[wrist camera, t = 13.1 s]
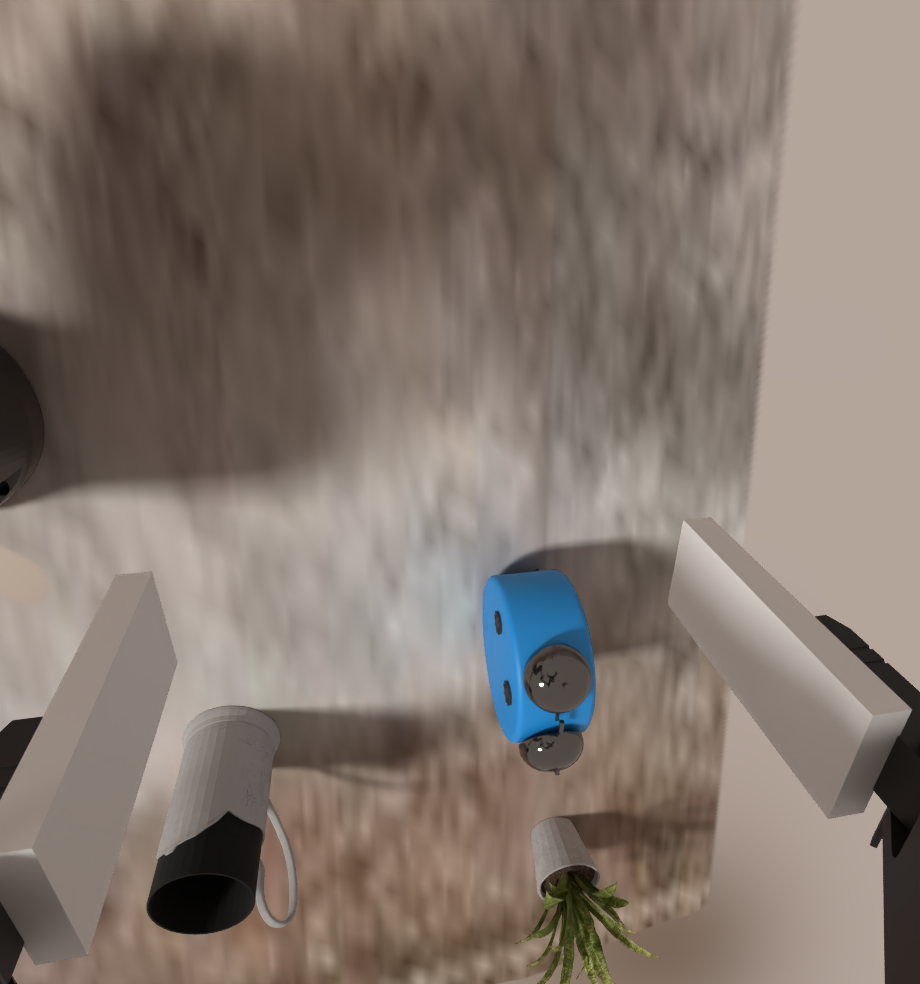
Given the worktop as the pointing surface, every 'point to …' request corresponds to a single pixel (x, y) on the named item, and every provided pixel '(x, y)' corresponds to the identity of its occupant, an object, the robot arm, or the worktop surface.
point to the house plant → (573, 901)
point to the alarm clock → (539, 665)
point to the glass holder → (219, 826)
